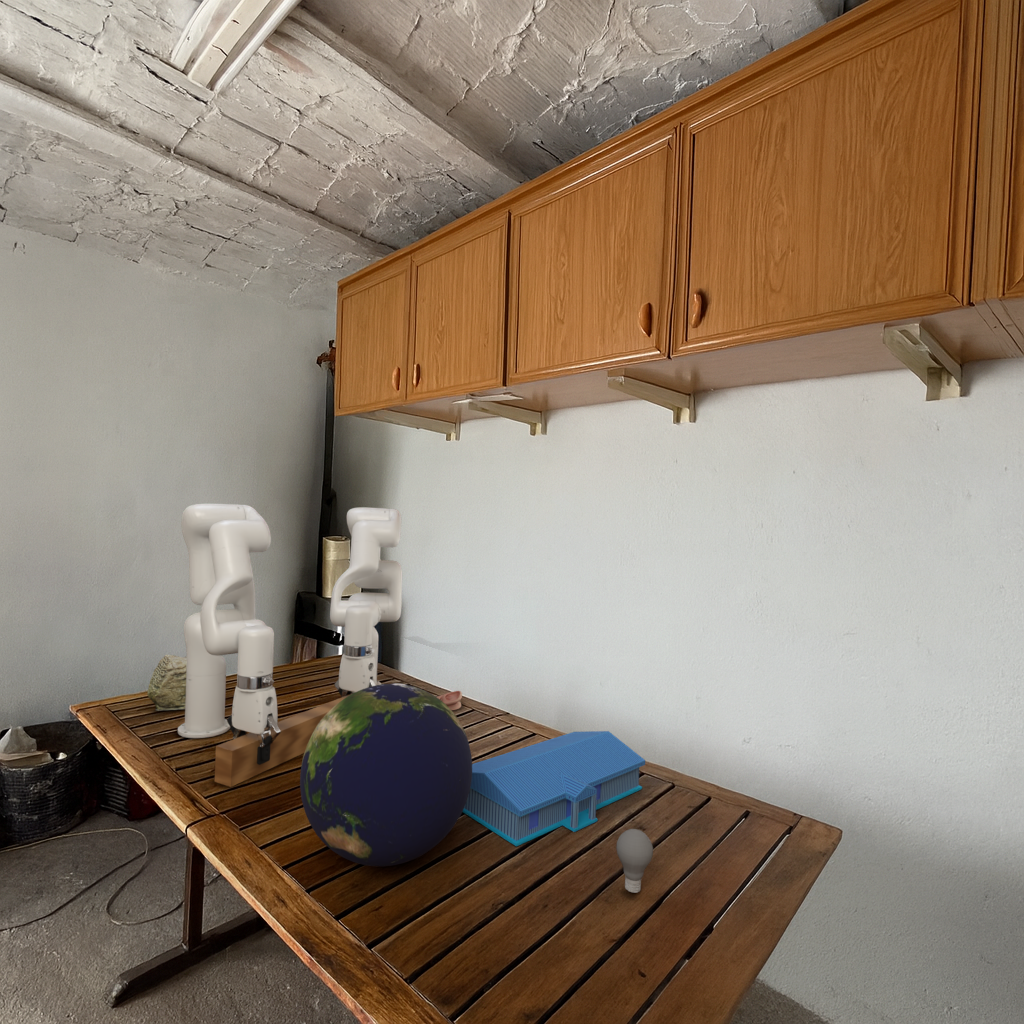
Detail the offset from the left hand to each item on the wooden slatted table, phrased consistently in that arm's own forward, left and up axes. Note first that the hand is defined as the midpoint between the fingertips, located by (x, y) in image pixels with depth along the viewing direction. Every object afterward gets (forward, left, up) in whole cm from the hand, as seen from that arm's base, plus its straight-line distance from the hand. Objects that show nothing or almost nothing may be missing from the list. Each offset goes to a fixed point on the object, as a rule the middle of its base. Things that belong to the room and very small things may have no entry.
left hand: (252, 758), depth 144 cm
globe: (+46, +13, -3) cm, 48 cm away
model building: (+44, +53, -3) cm, 69 cm away
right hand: (-18, +31, 0) cm, 36 cm away
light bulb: (+77, +44, -3) cm, 89 cm away
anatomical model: (-21, +59, -3) cm, 62 cm away
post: (-9, +16, -3) cm, 18 cm away
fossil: (-54, -8, -3) cm, 55 cm away
